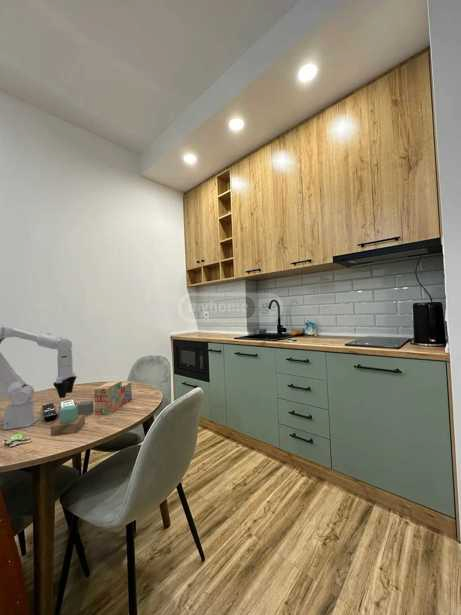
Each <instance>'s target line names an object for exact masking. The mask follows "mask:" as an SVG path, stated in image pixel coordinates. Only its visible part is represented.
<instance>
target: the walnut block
mask: <svg viewBox="0 0 461 615" xmlns="http://www.w3.org/2000/svg"><path fill="white" fill-rule="evenodd" d="M85 423H86V418H85V415H78V418H77V419H76V420H75V421H74V422H68V423H61V424H60V418H59V419H57V420H56V421H55V422H53V424H51V425H50V437H56V436H62V435H69V434H70V435H71V434H77V433H79V432H80V430H81V428H82V427H83V426H85Z"/></svg>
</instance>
